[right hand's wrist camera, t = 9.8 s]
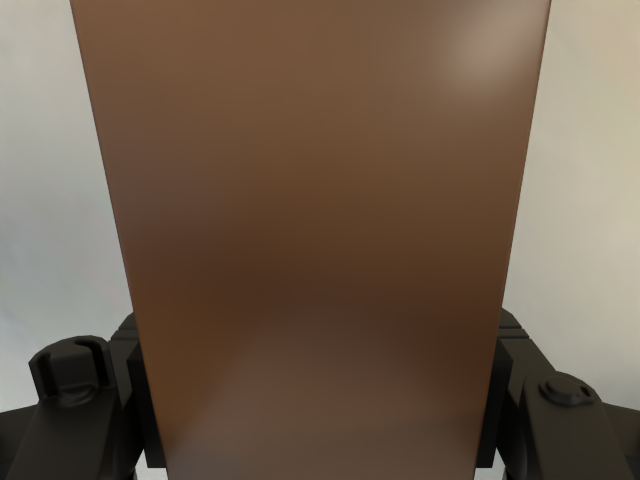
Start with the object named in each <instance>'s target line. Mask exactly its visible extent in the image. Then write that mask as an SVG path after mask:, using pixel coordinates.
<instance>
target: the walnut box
mask: <svg viewBox="0 0 640 480" xmlns="http://www.w3.org/2000/svg"><path fill="white" fill-rule="evenodd" d="M70 4H71V9H72V14H73V19H74V24H75V29H76V34H77V39H78V43H79V48H80V53H81V58H82V63H83V68H84V73H85V77H86V82H87V87H88V92H89V97H90V102H91V107H92V112H93V116H94V121H95V126H96V131H97V136H98V141H99V146H100V150H101V155H102V160H103V165H104V170H105V175H106V180H107V184H108V189H109V194H110V199H111V204H112V209H113V214H114V219H115V223H116V228H117V233H118V238H119V243H120V248H121V253H122V257H123V262H124V267H125V272H126V277H127V282H128V287H129V292H130V296H131V301H132V306H133V311H134V316H135V321H136V326H137V330H138V335H139V340H140V345H141V350H142V355H143V360H144V365H145V369H146V374H147V379H148V384H149V389H150V394H151V399H152V403H153V408H154V413H155V418H156V423H157V428H158V433H159V437H160V442H161V447H162V452H163V457H164V462H165V467H166V472H167V476H168V480H474V475H475V469H476V463H477V457H478V451H479V445H480V438H481V432H482V426H483V420H484V414H485V408H486V401H487V395H488V389H489V383H490V377H491V371H492V364H493V358H494V352H495V346H496V340H497V333H498V327H499V321H500V315H501V309H502V303H503V296H504V290H505V284H506V278H507V272H508V266H509V259H510V253H511V247H512V241H513V235H514V229H515V222H516V216H517V210H518V204H519V198H520V192H521V185H522V179H523V173H524V167H525V161H526V154H527V148H528V142H529V136H530V130H531V124H532V117H533V111H534V105H535V99H536V93H537V87H538V80H539V74H540V68H541V62H542V56H543V50H544V43H545V37H546V31H547V25H548V19H549V12H550V6H551V0H70Z"/></svg>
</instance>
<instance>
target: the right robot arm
mask: <svg viewBox="0 0 640 480" xmlns="http://www.w3.org/2000/svg"><path fill="white" fill-rule="evenodd" d="M28 364H29V367H30V370H31V374H32V377H33V380H34V384H35V387H36V390H37V394H38V397H39V402H38V404H36V405H32V406H29V407H24V408H20V409H15V410H10V411H6V412H1V413H0V480H137V474H136V469H135V466H136V464H137V462H138V460H139V457H140V455H141V453H142V451H143V449H144V452H145V457H146V462H147V467H148V468H166V467H165V462H164V457H163V452H162V447H161V442H160V437H159V433H158V428H157V423H156V418H155V413H154V408H153V403H152V399H151V394H150V389H149V384H148V379H147V374H146V369H145V365H144V360H143V355H142V350H141V345H140V340H139V335H138V330H137V326H136V321H135V316H134V312H133V313H131V314H130V315H128V316H127V317H126V319H125V320H124V321H123V323H122V324H121V325H120V327H119V328H118V330H116V332H115V333H114V334H113V336H112V337H111V340H110V341H108V342H107V341H106V340H104V339H103V338H101V337H97V336H92V335H88V336H76V337H71V338H67V339H63V340H60V341H58V342H56V343H53V344H51V345H48V346H47V347H45V348H44V349H42V350H41V351H39V352H38V353H36V354H35V355H34V356H33V358H32V359H31V360H30V361H29V362H28ZM496 447H497V449H498V451H499V454H500V456H501V458H502V460H503V462H504V464H505V469H504V474H503V478H502V480H640V411H638V410H634V409H629V408H624V407H620V406H615V405H611V404H607V403H603V402H602V401H601V399H600V397H599V396H598V395H597V393H596V392H595V390H594V389H592V388H591V387H590V386H589V385H587V384H586V383H585V382H583V381H582V380H580V379H578V378H576V377H574V376H571V375H569V374H566V373H563V372H559V371H556V370H555V369H554V368H553V366H552V365H551V364H550V362H549V361H548V360H547V359H546V357H545V356H544V355H543V353H542V352H541V351H540V350H539V348H538V347H537V346H536V344H535V343H534V342H533V340H532V339H529V335H528V334H527V333H526V331H525V330H524V329H522V326H521V325H520V324H519V322H518V321H517V320H516V319H515V317H514V316H513V315H512V314H511V313H509V312H508V311H506V310H505V309H503V308H502V309H501V315H500V321H499V327H498V333H497V340H496V346H495V352H494V358H493V364H492V371H491V377H490V383H489V389H488V395H487V401H486V408H485V414H484V420H483V426H482V432H481V438H480V445H479V451H478V457H477V463H476V468H492V466H493V461H494V456H495V451H496Z"/></svg>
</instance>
